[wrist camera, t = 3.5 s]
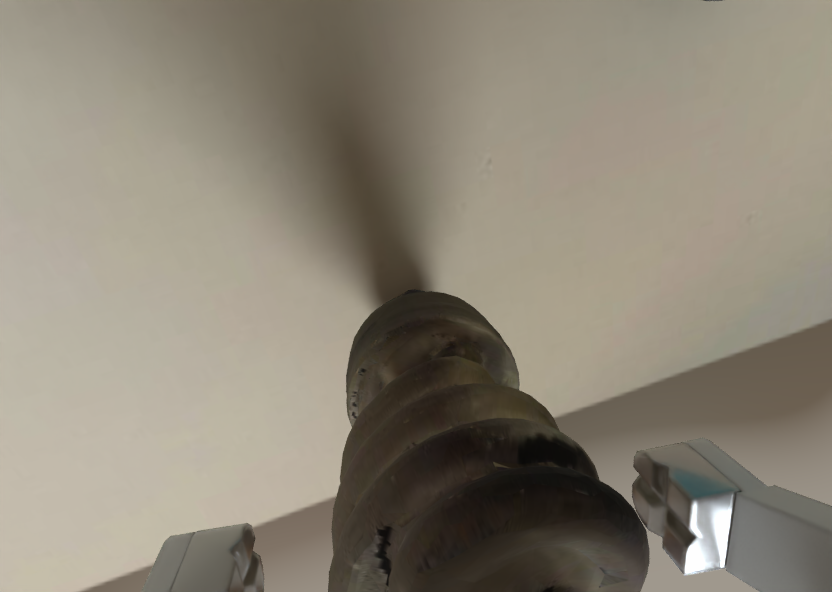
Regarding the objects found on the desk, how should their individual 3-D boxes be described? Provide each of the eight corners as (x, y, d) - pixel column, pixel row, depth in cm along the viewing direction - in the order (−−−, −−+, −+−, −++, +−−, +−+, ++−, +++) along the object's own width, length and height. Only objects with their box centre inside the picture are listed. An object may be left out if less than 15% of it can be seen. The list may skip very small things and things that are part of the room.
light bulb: (449, 385, 22) (632, 839, 8) (330, 367, 21) (287, 855, 7) (482, 270, 20) (791, 567, 6) (356, 243, 19) (372, 529, 5)
